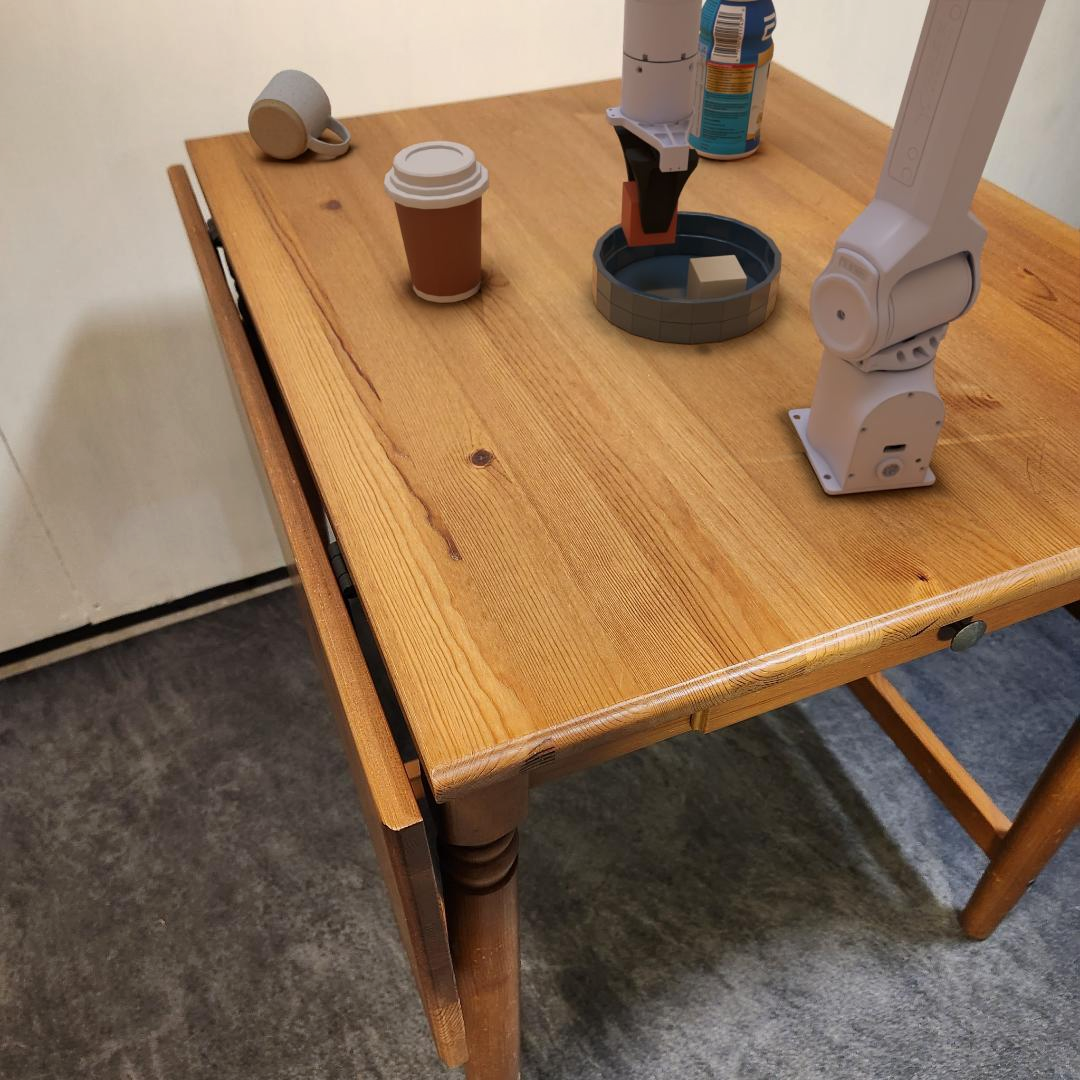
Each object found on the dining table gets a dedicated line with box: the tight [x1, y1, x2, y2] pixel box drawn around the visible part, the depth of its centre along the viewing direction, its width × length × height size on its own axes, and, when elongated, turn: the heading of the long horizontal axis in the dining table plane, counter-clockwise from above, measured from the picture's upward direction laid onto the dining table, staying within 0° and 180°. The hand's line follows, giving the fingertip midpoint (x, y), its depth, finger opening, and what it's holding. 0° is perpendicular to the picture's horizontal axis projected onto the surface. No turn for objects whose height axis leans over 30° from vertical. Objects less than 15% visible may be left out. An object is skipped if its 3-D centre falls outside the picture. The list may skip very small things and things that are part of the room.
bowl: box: [591, 210, 783, 345], centre depth 84 cm, size 16×16×4 cm
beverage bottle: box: [688, 0, 777, 161], centre depth 102 cm, size 8×8×20 cm
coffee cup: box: [383, 140, 490, 304], centre depth 84 cm, size 9×9×12 cm
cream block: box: [686, 255, 747, 300], centre depth 81 cm, size 4×4×4 cm
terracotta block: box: [620, 180, 679, 247], centre depth 81 cm, size 4×4×4 cm
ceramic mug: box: [247, 69, 352, 160], centre depth 108 cm, size 11×8×8 cm
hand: (649, 218), depth 82 cm, fingers closed on terracotta block, 4 cm apart
